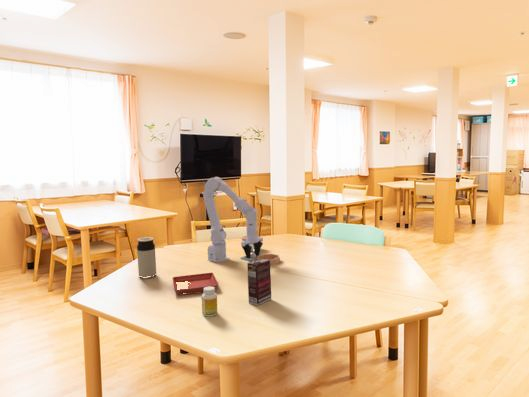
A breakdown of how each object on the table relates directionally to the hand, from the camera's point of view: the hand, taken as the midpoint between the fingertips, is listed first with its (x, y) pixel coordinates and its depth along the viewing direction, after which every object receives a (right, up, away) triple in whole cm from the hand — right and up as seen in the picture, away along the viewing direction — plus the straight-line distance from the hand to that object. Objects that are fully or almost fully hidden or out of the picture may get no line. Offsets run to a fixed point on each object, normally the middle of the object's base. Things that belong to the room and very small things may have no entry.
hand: (252, 257), depth 213 cm
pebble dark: (+1, -1, +6) cm, 6 cm away
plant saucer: (-24, -8, -40) cm, 47 cm away
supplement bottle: (-13, -11, -69) cm, 71 cm away
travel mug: (-49, -6, -23) cm, 54 cm away
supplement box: (+4, -9, -58) cm, 59 cm away
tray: (+1, -1, +3) cm, 4 cm away
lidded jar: (-1, +1, +21) cm, 21 cm away
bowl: (+8, -2, -5) cm, 10 cm away
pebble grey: (0, -1, 0) cm, 1 cm away
